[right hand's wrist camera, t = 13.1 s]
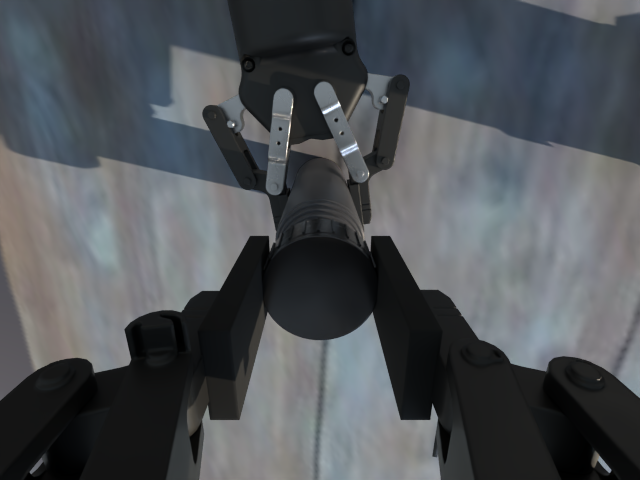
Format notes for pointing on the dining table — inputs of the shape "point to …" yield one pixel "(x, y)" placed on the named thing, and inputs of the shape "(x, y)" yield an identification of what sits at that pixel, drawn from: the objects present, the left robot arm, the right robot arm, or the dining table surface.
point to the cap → (320, 280)
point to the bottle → (320, 197)
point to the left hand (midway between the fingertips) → (325, 232)
